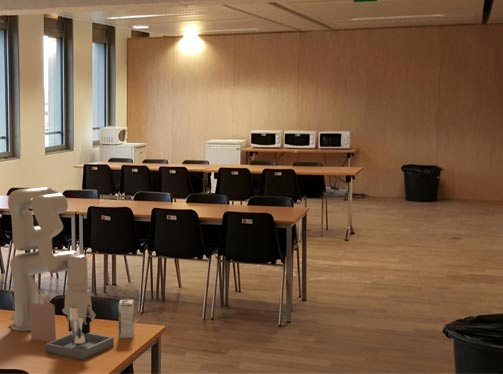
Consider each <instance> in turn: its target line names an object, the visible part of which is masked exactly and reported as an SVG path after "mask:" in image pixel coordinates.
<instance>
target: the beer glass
mask: <svg viewBox="0 0 503 374" xmlns="http://www.w3.org/2000/svg"><path fill="white" fill-rule="evenodd" d="M69 318H70V325H71V330H72V331H71V333H72V345H73V346H83V345H86V344H87V343H88V340H87V335H86V334H83V324H84V322H83V318H79V317H78V313H77V308H72V307H70V315H69ZM85 318H86V320H87V317H85Z"/></svg>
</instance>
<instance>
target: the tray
mask: <svg viewBox="0 0 503 374" xmlns="http://www.w3.org/2000/svg"><path fill="white" fill-rule="evenodd" d="M86 335H87V340H88V343H87V344H86V345H83V346H73V345H72V332H70V333H69V334H66V335H64V336H62V337H60V338H56V340H54V341H48V342H47V343H45V353H46V354H49V355H53V356H54V355H55V356H58V357H59V356H60V357H63V358H69V359H74V360H78V361H84V360H87V359H89V358H91V357H93V356H96V355H98V354H100V353H101V352H104V351H106V350H109V349H110V348H113V347H114V344H115V343H114V340H115V339H114V337H113V336H109V335H103V334H97V333H92V332H90V333H87V334H86Z"/></svg>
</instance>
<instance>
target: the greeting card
mask: <svg viewBox="0 0 503 374" xmlns="http://www.w3.org/2000/svg"><path fill="white" fill-rule="evenodd" d="M55 311H56V307H55V304H53V303H51V302H50V301H49V300H46V299H43V303H38V304H35V303H30V322H31V330H30V339H31V340H34V341H43V342H45V341H46V342H52V341H54V340H57V338H56V337H57V336H56V312H55Z"/></svg>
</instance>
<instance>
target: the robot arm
mask: <svg viewBox="0 0 503 374" xmlns="http://www.w3.org/2000/svg"><path fill="white" fill-rule="evenodd" d="M7 206H8V211H9V213H10V215H11V228H12V231H11V232H12V244H13V245H12V246H13V248H14V249H15V250H17V251H20V252H21V251H22V252H23V251H29V250H37V251H30V252H25V253H20V254H17V255H15V256H13V257H12V258H11V259H10V262H9V267H10V271H11V275H12V282H13V295H14V296H13V297H14V298H13V299H14V300H13V301H14V314H12V315H11V316H10V318H9V319H10V321H13V324H11V329H12V330H13V331H17V332H27V331H30V332H31V322H30V303H35V304H39V293H38V285H37V281H35V280H34V278H33V277H32V276H34V275H38V274H44V273H47V272H48V273H51V274H57V273H62V272H67V273H66V274H67V282H66V286H67V289H66V291H65V296H64V307H63V308H62V309H61V311H62V313H63V314H64V317H65V318H66V321H67V322H68V332H70V333H72V330H71V325H70V318H69V315H70V307H72V308H77V313H78V317H79V318H83V322H84V324H83V334H87V333H91V327H90V326H91V323H92V321H93V320H94V318H96V313H95V312H94V310H93V308H92V299H91V293H90V289H89V277H88V257H87V256H86V254H84V253H80V252H78V251H76V250H73V249H71V250H66V251H60V252H53V241H52V240H53V238H54V237H56V236H57V235H58V234H61V232H62V231H63V229H64V224H63V221H62V219H61V218H60V214H64V213H65V212H67V210H68V207H69V203H68V199H67V198H66V196H65V195H64V194H63V193H61V192H60V191H58V190H55V189H53V188H52V187H49V186H42V187H41V186H40V187H29V188H20V189H17V190H14V191H12V192H10V193H9V195H8V198H7ZM31 210H32V213H33V214H34V217H35V220H36V222H37V225H34V217H33V214H32V213H31ZM85 317H87V320H86V318H85Z"/></svg>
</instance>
